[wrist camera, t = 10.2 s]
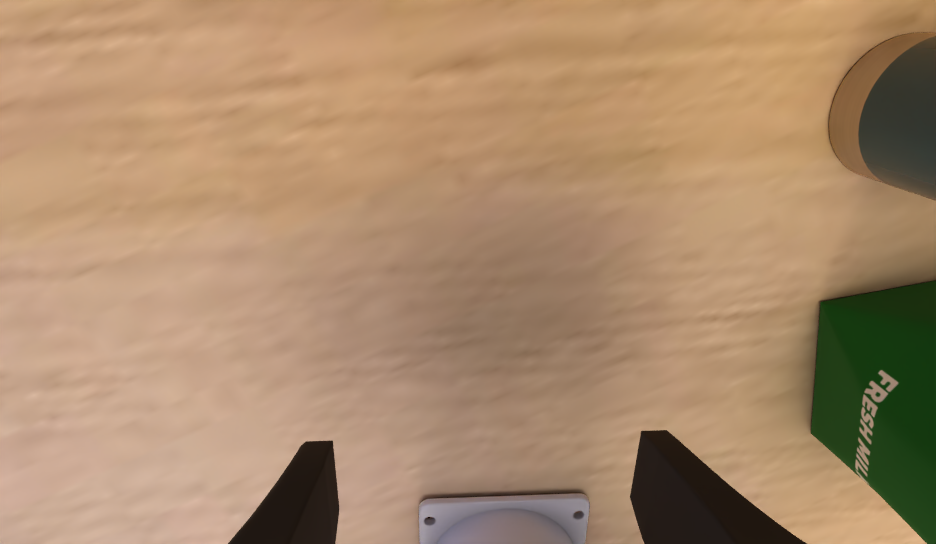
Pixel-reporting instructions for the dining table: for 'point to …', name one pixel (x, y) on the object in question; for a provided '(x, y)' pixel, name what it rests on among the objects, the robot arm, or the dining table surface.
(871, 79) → the tin can
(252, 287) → the dining table surface
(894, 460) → the milk carton
